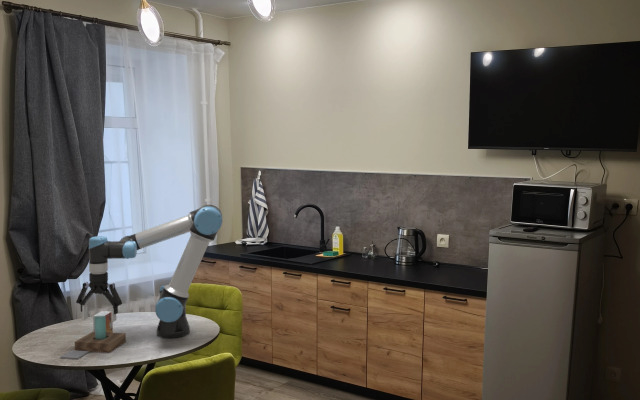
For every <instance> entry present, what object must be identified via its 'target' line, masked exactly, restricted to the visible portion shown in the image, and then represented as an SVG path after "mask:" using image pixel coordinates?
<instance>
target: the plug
mask: <svg viewBox="0 0 640 400" xmlns="http://www.w3.org/2000/svg"><path fill="white" fill-rule="evenodd" d="M105 338H106V317H105V316H97V317H95V339H99V340H104V339H105Z"/></svg>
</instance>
